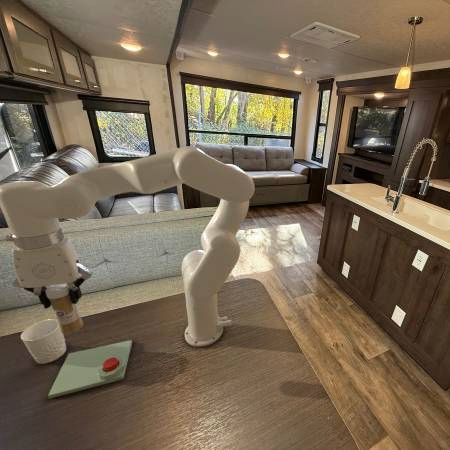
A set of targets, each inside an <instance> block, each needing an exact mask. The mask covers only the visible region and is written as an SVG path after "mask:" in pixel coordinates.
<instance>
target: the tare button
mask: <svg viewBox="0 0 450 450" xmlns="http://www.w3.org/2000/svg"><path fill="white" fill-rule="evenodd" d="M117 366H118V361H117V358H115V357H112V358H109V359H107V360H106V361H105V362H104V363H103V367H104V370H105V371H106V372H110V371H113V370H114V369H116V368H117Z"/></svg>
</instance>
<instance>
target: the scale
mask: <svg viewBox="0 0 450 450" xmlns="http://www.w3.org/2000/svg"><path fill="white" fill-rule="evenodd" d="M132 345H133V340H132V339H130V340H125V341H121V342H117V343H116V342H115V343H110V344H107V345H102V346H97V347H93V348H88V349H84V350H83V349H82V350H78V351H74V352H69V353H67V356H66V358H65V360H64V362H63V364H62V365H61V368H60V370H59V371H58V375H57V376H56V378H55V380H54V383H53V385H52V386H51V389H50V390H49V392H48V395H47V397H48V399H53V398H57V397H60V396H64V395H68V394H72V393H76V392H79V391H84V390H88V389H90V388H95V387H99V386H103V385H107V384H110V383H114V382H117V381H121V380H124V379H125V374H126V370H127V366H128V362H129V357H130V353H131V350H132ZM112 357H115V358H117V361H118V366H117V368H116V369H114V370H113V371H110V372H106V371H105V370H104V367H103V363H104V362H105V361H106V360H107V359H109V358H112Z"/></svg>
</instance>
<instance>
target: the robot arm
mask: <svg viewBox="0 0 450 450" xmlns="http://www.w3.org/2000/svg"><path fill="white" fill-rule="evenodd" d="M183 184H184V185H186V186H187V187H190V188H192V189H194V190H197V191H199V192H201V193H203V194H207V195H210V196H213V197H216V198H218V199H220V201H219V204H218V206H217V208H216V211H215V212H214V214H213V215H212V217H211V219H210V221H209V222H208V223H207V225H206V227H205V228H204V230H203V231H202V233H201V237H200V243H201V247H202V249H195V250H191V251H190V252H188V253H187V254H186V255H185V256H184V257H183V259H182V262H181V266H180V267H181V277H182V281H183V289H184V296H185V305H186V314H187V315H186V316H187V323H188V325H187V327H186V328H185V331H184V339H185V341H186V343H187V344H188V345H190V346H192V347H199V348H200V347H201V348H203V347H207V346H210V345H212V344H214V343H215V342H217V341H218V340H219V339H220V338H221V336H222V335H223V332H224V327H231V326H233V320H232V319H228V316H227V315H226V316H223V317H221V316H219V310H218V292H219V291H220V290H221V289H222V287H223V286H224V284H225V283H226V281H227V280H228V278H229V277H230V274H231V273H232V272H233V270H234V269H235V266H236V265H237V263H238V261H239V259H240V256H241V245H240V243H239V241H238V239H237V238H236V236H237V234H238V232H239V230H240V228H241V227H242V224H243V223H244V221H245V219H246V217H247V214H248V213H249V212H248V211H249V207H250V199H252V197H253V196H254V195H255V194H254V193H255V190H256V189H255V183H254V180H253V178H252V177H251V175H250V174H248V173H246V172H245V171H244V170H243V169H242V168H240V167H238V166H237V165H235V164H231V163H223V162H222V161H219V160H217V159H216V158H214V157H212V156H210V155H209V154H206V153H205V152H204V151H202V150H201V149H200V148H198V147H197V146H193V145H192V146H191V145H187V146H180V147H177V148H173V149H170V150H167V151H163V152H158V153H156V154H152V155H148V156H147V155H146V156H144V157H140V158H136V159H133V160H127V161H123V162H120V163H119V162H118V163H113V164H109V165H105V166H101V167H96V168H94V169H93V168H92V169H88V170H85V171H82V172H77V173H75V174H71V175H69V176H67V177H65V178H64V179H62V180H61V181H59V182H58V183H57V184H54V185H51V186H47V185H46V184H45V183H43V182H40V181H34V180H33V181H32V180H22V181H21V180H20V181H11V182H6V183H3V184H0V209H1V212H2V214H3V217H4V219H5V221H6V224H7V226H8V229H9V231H10V233H11V234H6V235H5V237H4V239H5V241H6V242H13V244H14V246H13V247H12V248H11V256H12V263H13V267H14V268H13V269H14V272H15V276H16V278H15V279H14V281H13V283H12V286H13V287H15V288H19V289H24V291H27V292H30V293H33V295H34V296H36V297H37V298H38V300H39V302H40V304H41V305H43V308H44V309H45V310H46V309H49V308H51V307H52V305H51V302H50V299H49V298H48V297H47V295H46V292H45V291H46V289H47V288H48V287H49V286H51V285H58V284H65V283H66V284H67V285H68V286H69V288H70V291H69V295H70V298H71V300H72V303H73V304H77V305H78V302H79V301H80V299H81V298H82V297H83V292H82V289H81V287H80V286H82V284H83V283H84V282H86V281H87V280H89V279H90V278H91V277H92V276H93V275H94V272H93V271H92V270H91V269H90V268H88V267H85V266H84V265H82V263H81V261H80V260H81V259H80V257H79V255H78V253H77V251H76V249H75V247H74V245H73V244H72V242H71V241H70V239H69V238H67V237H65V236H64V233H63V229H62V226H61V222H60V219H66V220H74V219H80V218H82V217H83V218H84V217H86V216H88V214H90V213H91V212H92V210H93V208H94V207H95V205H96V203H97V202H98V201H100V200H103V199H104V200H105V199H107V198H109V197H113V196H116V195H117V196H118V195H121V194H127V193H138V194H143V195H151V194H152V195H153V194H155V193H158V192H161V191H165V190H167V189H170V188H173V187H176V186H180V185H183ZM79 274H80V276H79Z"/></svg>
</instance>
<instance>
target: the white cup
mask: <svg viewBox="0 0 450 450" xmlns="http://www.w3.org/2000/svg"><path fill="white" fill-rule="evenodd" d="M64 335H65V334H63V333H61V329H60V326H59V324H58V322H57V320H56V318H50V319H44V320H41V321H38V322H36V323H33V324H31V325H30V326H28V327H26V328H25V329H24V330H23V331H22V332H21V334H20V339H21V341H22V342H23V344H24V346H25V347H26V350H27V351H28V352H29V354H30V355H31V356H32V358H33V360H34V361H35V362H36V363H37V364H40V365H45V364H48V363H52V362H54V361H56V360H58V359H59V358H61V357H62V356H63V355H64V354H65V352H66V351H67V343H66V339H65V336H64Z"/></svg>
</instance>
